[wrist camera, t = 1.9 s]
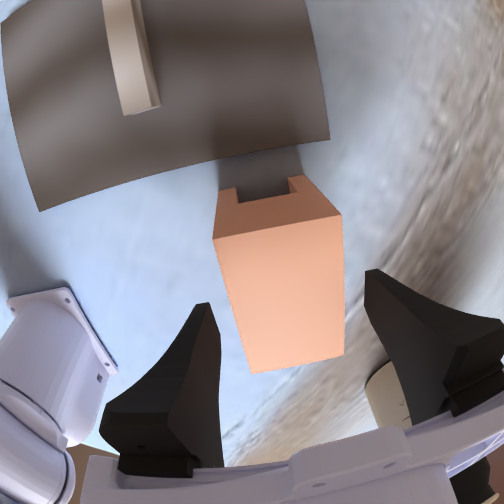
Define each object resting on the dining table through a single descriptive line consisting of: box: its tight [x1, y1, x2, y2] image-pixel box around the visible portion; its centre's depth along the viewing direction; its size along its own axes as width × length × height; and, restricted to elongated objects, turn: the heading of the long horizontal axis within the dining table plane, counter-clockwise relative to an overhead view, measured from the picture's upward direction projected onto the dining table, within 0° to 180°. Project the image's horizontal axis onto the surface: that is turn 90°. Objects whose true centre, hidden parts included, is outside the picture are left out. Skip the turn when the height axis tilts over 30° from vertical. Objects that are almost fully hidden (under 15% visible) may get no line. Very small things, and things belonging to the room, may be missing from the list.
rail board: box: [1, 0, 330, 212], centre depth 11 cm, size 14×18×5 cm
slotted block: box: [212, 175, 345, 374], centre depth 16 cm, size 8×5×6 cm, turn 10°
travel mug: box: [365, 361, 499, 504], centre depth 19 cm, size 8×8×18 cm
